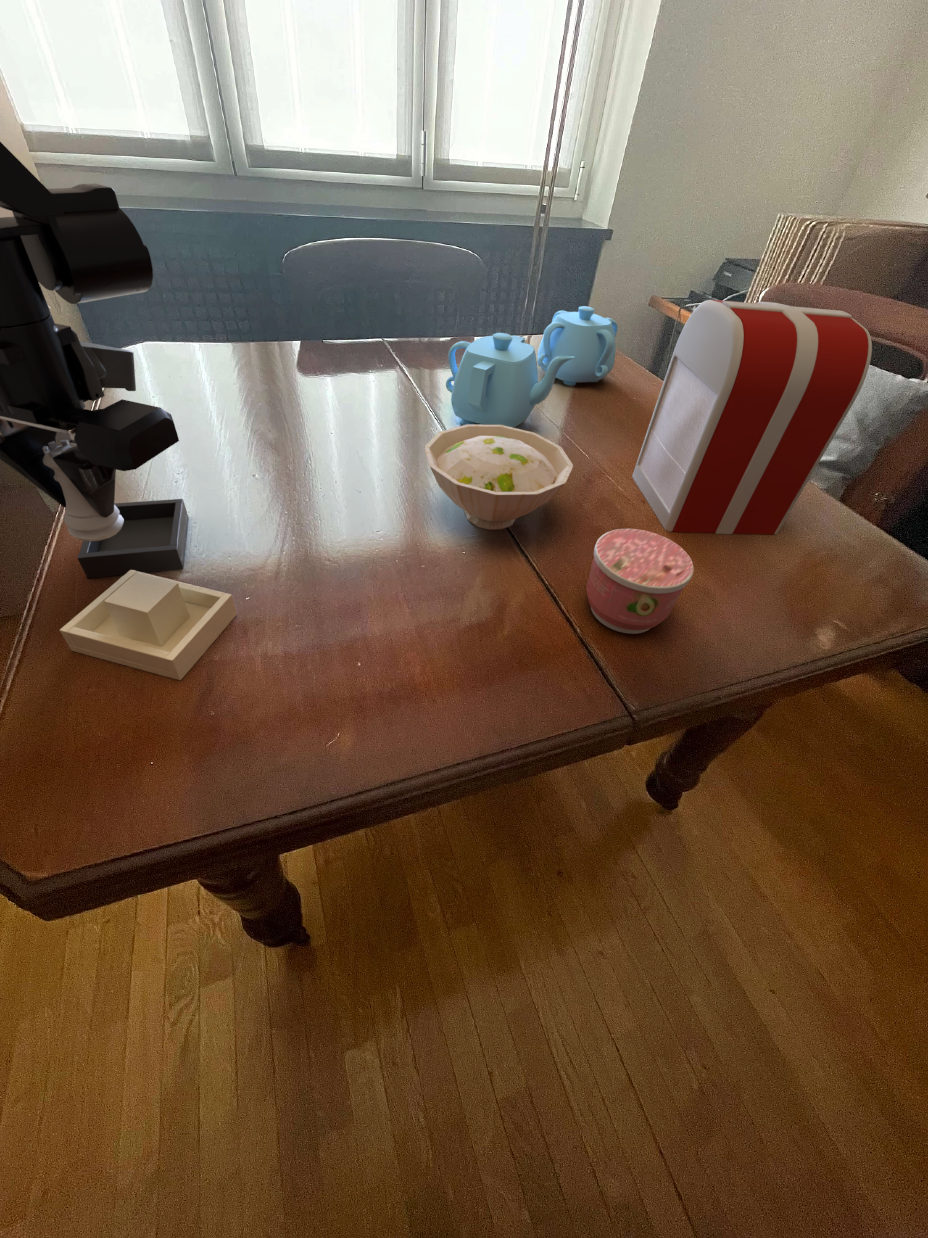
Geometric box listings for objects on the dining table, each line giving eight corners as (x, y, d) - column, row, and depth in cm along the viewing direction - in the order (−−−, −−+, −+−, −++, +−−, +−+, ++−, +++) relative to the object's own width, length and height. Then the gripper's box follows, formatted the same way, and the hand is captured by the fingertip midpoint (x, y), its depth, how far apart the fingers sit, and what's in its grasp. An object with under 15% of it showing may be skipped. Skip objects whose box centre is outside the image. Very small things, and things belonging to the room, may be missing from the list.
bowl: (456, 570, 66) (464, 498, 59) (400, 490, 78) (401, 423, 72) (586, 541, 73) (606, 474, 67) (516, 472, 86) (527, 409, 79)
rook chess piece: (81, 514, 51) (43, 433, 45) (132, 515, 51) (101, 435, 46) (60, 543, 48) (17, 459, 42) (115, 544, 48) (79, 461, 43)
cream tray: (71, 650, 52) (58, 629, 50) (139, 589, 59) (130, 569, 57) (180, 680, 51) (172, 660, 49) (237, 614, 57) (231, 594, 56)
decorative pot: (546, 358, 127) (558, 292, 118) (614, 372, 124) (631, 306, 115) (526, 379, 116) (537, 308, 107) (600, 396, 113) (618, 324, 103)
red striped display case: (630, 474, 89) (692, 284, 70) (730, 478, 91) (816, 295, 72) (666, 532, 77) (752, 322, 58) (781, 535, 79) (899, 334, 61)
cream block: (120, 635, 53) (103, 601, 50) (150, 606, 56) (136, 572, 53) (161, 646, 52) (147, 612, 49) (190, 616, 56) (178, 582, 52)
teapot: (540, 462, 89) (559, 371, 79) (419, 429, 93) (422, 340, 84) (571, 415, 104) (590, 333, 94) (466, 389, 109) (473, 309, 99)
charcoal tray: (183, 569, 62) (176, 549, 60) (87, 578, 59) (77, 558, 57) (188, 517, 69) (183, 498, 67) (103, 524, 67) (94, 504, 65)
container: (560, 608, 63) (576, 552, 57) (607, 571, 69) (625, 517, 64) (641, 657, 58) (667, 601, 53) (683, 612, 64) (710, 558, 59)
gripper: (195, 309, 42) (236, 488, 53) (-10, 271, 44) (69, 450, 55) (85, 353, 34) (160, 553, 45) (-157, 303, 36) (-31, 505, 47)
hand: (89, 510), depth 48 cm, fingers closed on rook chess piece, 3 cm apart
